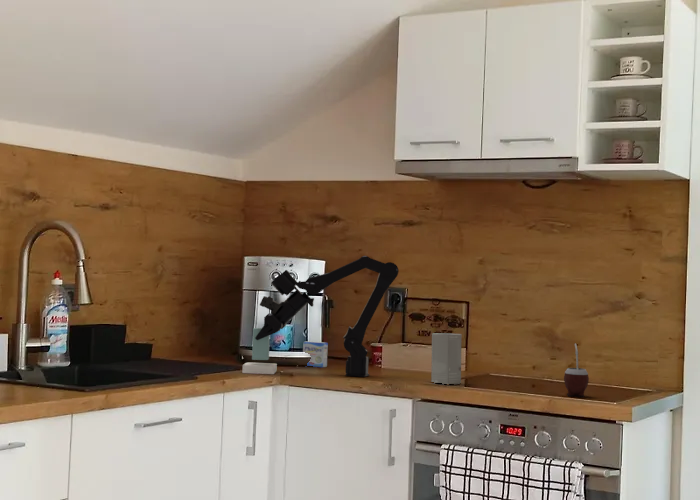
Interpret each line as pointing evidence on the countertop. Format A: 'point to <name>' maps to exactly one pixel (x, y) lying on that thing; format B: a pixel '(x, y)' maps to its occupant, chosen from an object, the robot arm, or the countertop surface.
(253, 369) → the grey plinth
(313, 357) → the medicine box
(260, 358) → the teal block
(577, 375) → the mate gourd
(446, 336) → the skincare box
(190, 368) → the countertop surface
